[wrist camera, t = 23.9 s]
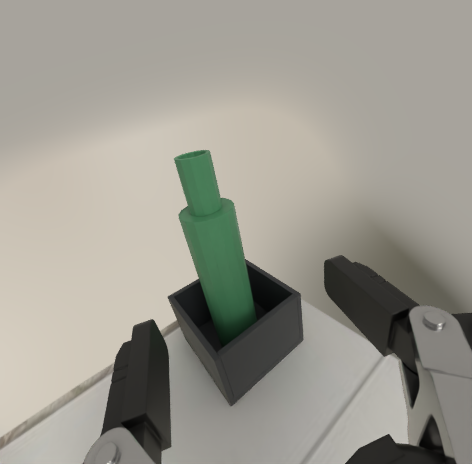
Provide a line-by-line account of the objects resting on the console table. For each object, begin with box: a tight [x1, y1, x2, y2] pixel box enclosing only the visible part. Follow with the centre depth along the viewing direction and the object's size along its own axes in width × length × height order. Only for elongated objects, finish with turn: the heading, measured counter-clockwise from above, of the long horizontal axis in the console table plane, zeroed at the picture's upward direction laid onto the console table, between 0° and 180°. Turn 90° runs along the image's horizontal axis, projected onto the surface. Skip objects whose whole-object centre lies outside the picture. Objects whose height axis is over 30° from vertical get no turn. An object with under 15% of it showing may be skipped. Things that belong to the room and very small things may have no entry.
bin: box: [168, 259, 303, 406], centre depth 30 cm, size 11×11×8 cm
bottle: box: [174, 150, 257, 347], centre depth 26 cm, size 5×5×23 cm
